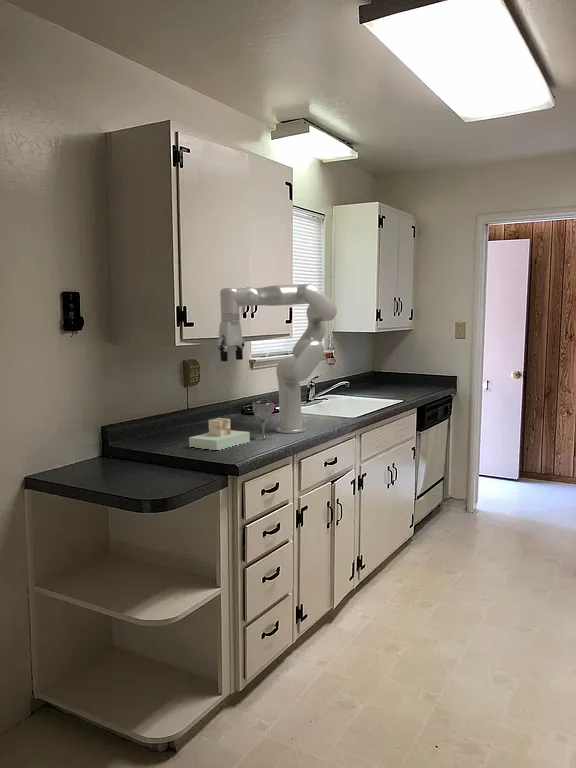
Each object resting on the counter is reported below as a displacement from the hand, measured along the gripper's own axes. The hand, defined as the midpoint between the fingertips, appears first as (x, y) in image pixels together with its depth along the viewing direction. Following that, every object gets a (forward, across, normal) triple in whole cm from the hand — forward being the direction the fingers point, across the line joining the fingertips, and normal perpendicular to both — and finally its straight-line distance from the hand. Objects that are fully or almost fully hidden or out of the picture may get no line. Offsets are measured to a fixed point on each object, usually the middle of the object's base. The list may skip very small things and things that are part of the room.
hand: (231, 360), depth 256 cm
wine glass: (+32, -4, +12) cm, 35 cm away
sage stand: (+32, +14, +4) cm, 35 cm away
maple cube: (+28, +14, +4) cm, 32 cm away
